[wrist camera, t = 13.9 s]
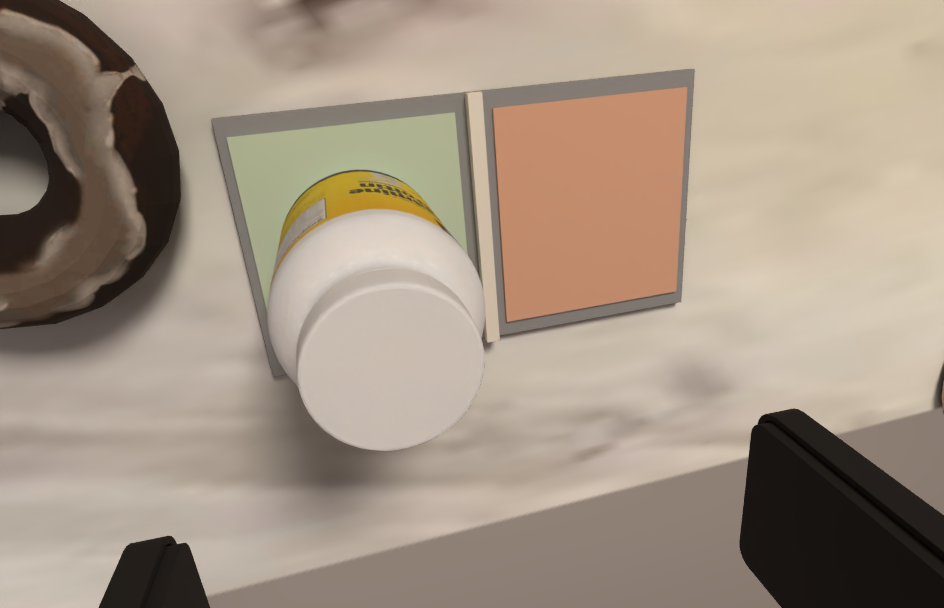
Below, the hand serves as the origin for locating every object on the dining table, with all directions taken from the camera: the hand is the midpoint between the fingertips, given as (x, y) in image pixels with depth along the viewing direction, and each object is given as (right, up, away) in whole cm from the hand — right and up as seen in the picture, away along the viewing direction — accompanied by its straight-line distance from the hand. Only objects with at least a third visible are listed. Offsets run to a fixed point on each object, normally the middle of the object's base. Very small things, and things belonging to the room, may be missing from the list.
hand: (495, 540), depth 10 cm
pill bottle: (-5, +6, +16) cm, 18 cm away
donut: (-17, +9, +12) cm, 23 cm away
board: (0, +7, +17) cm, 19 cm away
